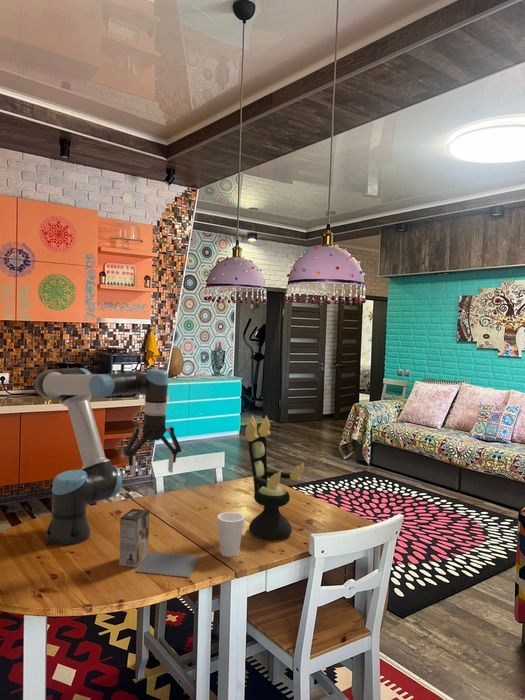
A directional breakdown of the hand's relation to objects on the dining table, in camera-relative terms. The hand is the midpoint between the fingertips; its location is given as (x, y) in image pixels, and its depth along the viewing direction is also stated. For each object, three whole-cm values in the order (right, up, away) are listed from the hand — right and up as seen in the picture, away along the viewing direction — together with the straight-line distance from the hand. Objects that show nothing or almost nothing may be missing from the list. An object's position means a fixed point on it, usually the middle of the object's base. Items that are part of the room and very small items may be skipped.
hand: (151, 473), depth 183 cm
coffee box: (-4, -27, -10) cm, 29 cm away
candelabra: (+40, -28, +20) cm, 53 cm away
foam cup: (+28, -28, -1) cm, 39 cm away
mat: (+8, -27, -12) cm, 31 cm away
